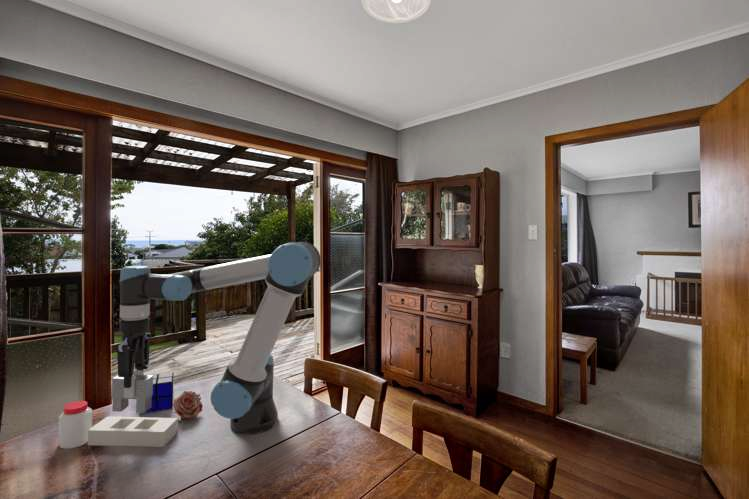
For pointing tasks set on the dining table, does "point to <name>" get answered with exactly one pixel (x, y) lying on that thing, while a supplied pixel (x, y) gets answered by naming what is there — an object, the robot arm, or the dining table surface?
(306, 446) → the dining table surface
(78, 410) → the pill bottle
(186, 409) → the flower
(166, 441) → the block with rectangular holes
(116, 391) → the gray rectangular block
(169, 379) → the puzzle cube
